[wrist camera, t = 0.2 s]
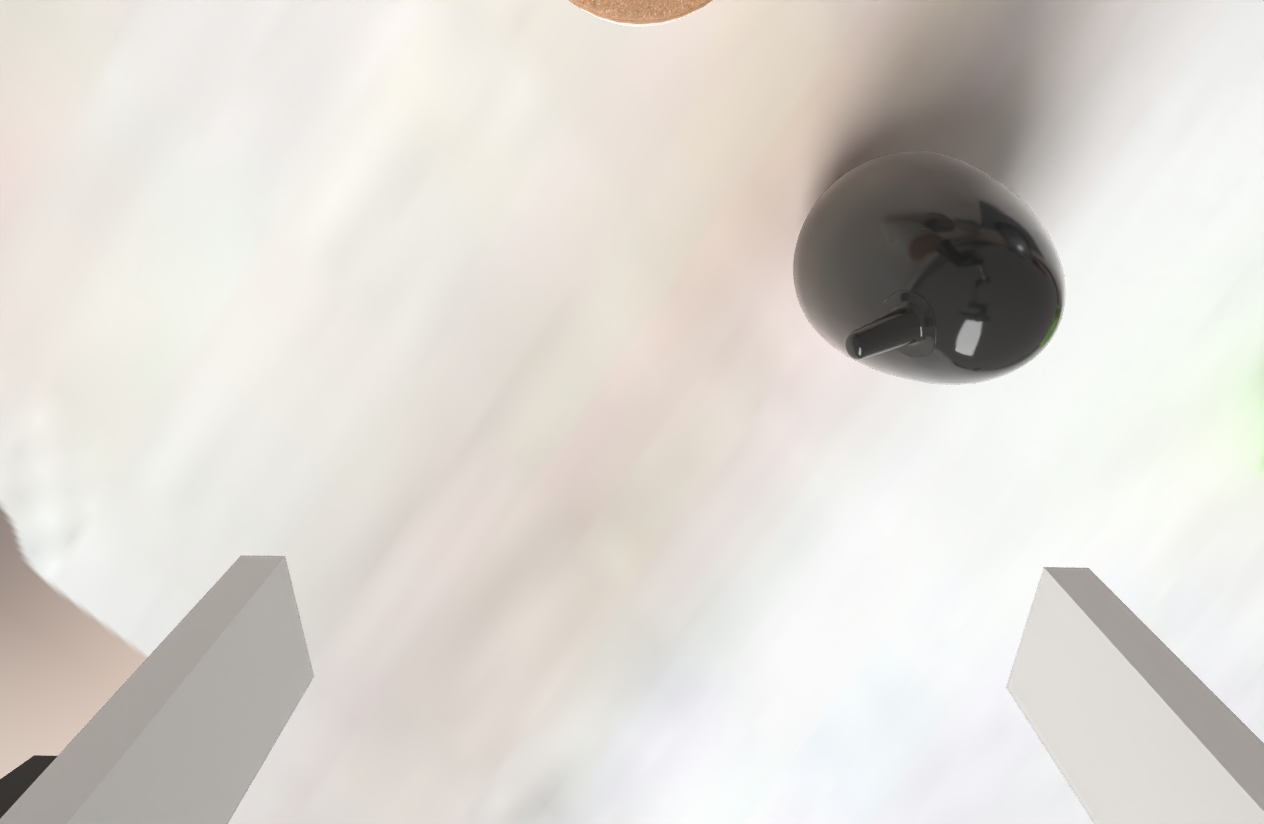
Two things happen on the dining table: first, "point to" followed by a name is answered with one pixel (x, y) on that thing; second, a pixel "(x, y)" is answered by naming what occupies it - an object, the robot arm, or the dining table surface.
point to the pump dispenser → (928, 271)
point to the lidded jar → (640, 10)
